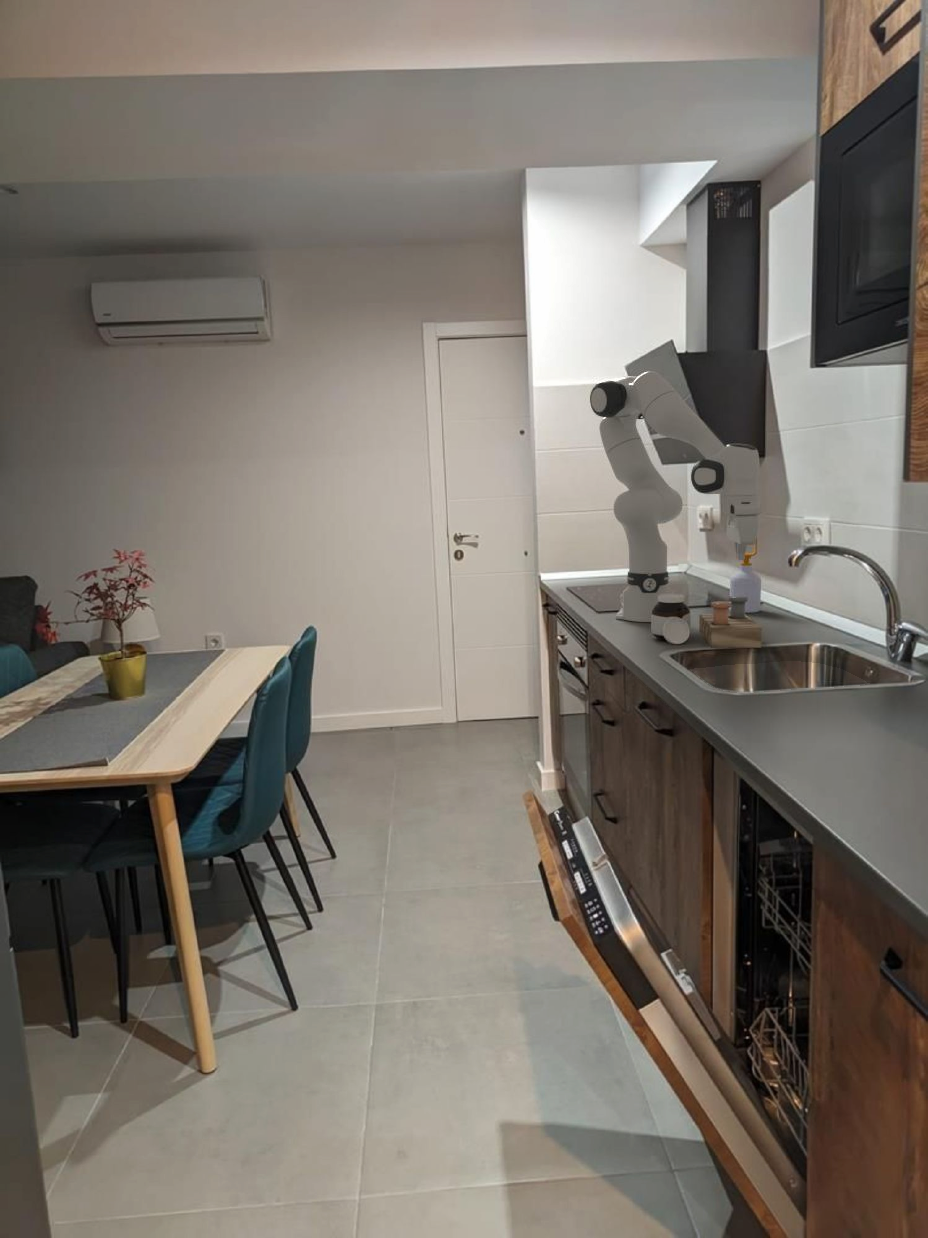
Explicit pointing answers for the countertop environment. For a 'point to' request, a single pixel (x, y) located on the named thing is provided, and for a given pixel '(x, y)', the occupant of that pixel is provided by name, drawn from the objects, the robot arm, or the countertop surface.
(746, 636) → the oak block
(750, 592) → the soap bottle
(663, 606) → the spread jar
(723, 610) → the terracotta plug
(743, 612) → the grey plug
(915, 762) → the countertop surface
